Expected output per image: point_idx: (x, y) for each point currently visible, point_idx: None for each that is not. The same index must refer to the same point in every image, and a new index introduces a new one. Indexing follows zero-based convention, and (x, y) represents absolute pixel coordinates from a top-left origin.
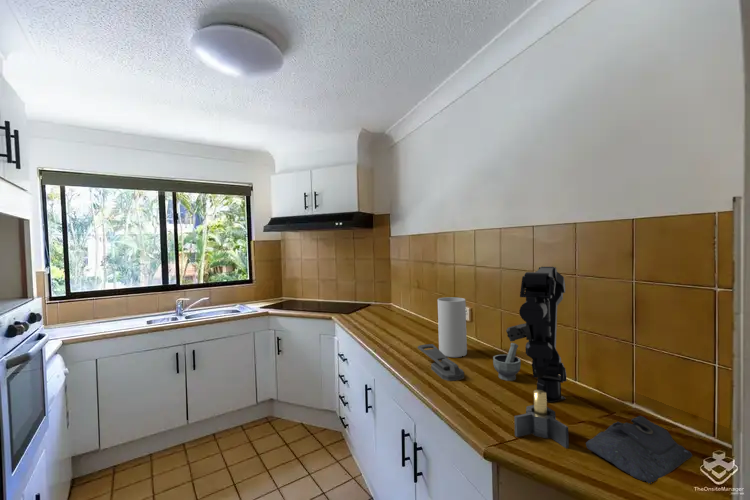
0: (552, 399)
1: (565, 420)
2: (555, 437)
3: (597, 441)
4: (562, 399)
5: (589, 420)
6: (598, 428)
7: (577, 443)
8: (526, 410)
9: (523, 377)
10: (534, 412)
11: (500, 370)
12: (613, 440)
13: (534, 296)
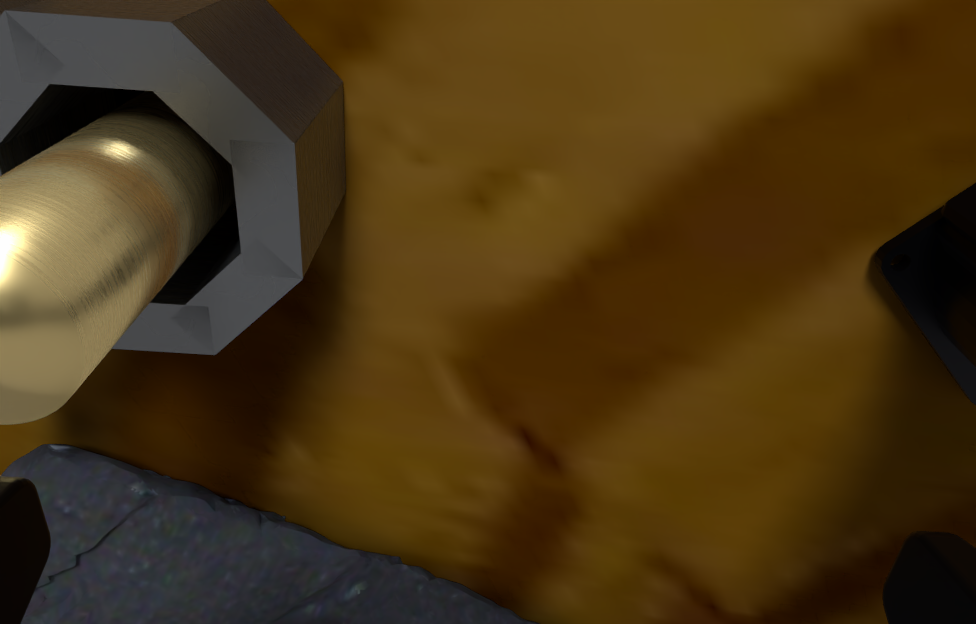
0: (930, 292)
1: (516, 347)
2: None
3: (80, 533)
4: (954, 376)
5: (583, 501)
6: (471, 530)
7: (156, 381)
8: (31, 16)
9: None
10: (102, 120)
11: None
12: (121, 621)
13: None
